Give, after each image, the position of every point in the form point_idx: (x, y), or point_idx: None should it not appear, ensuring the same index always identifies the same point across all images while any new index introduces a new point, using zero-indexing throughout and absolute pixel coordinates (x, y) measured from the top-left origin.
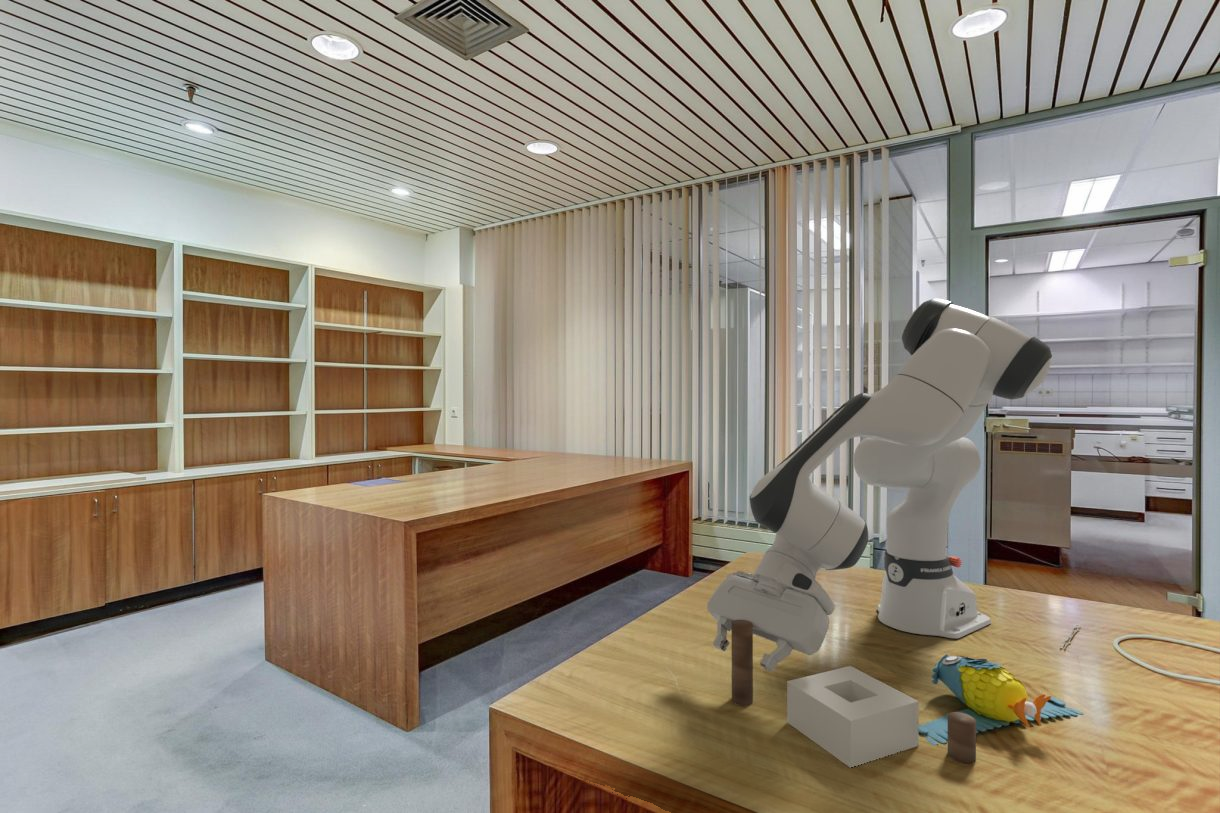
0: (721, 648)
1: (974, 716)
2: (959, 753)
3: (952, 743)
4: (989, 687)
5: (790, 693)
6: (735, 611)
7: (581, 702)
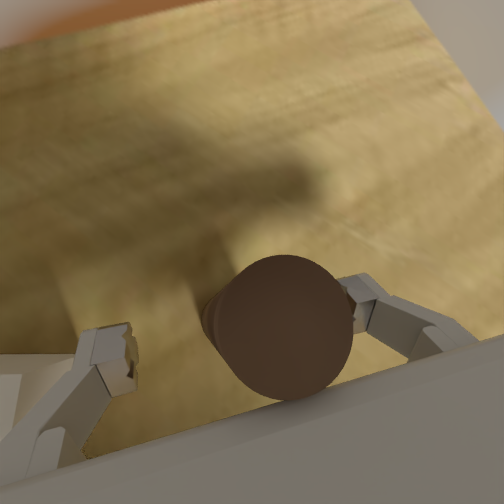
0: None
1: None
2: None
3: None
4: None
5: (23, 367)
6: (459, 398)
7: (350, 52)
